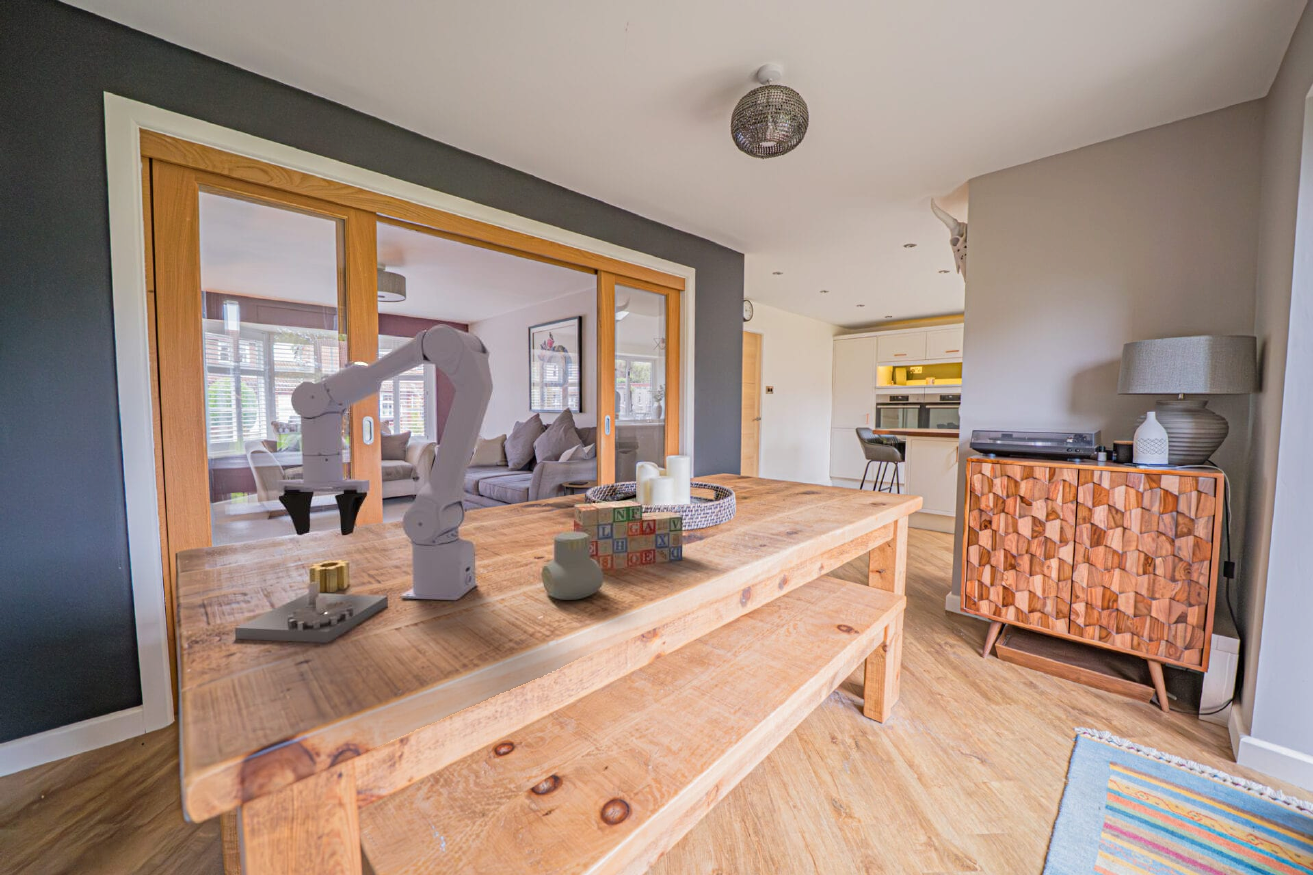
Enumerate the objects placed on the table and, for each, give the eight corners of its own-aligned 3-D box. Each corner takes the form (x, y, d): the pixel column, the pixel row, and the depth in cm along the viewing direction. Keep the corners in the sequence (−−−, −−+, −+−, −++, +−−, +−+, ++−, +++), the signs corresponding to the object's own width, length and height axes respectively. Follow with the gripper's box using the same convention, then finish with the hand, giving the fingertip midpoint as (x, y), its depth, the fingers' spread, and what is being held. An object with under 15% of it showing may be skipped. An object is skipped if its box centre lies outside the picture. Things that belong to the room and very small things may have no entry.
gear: (365, 609, 74) (365, 602, 74) (327, 631, 66) (327, 624, 66) (316, 607, 75) (315, 600, 74) (273, 629, 67) (272, 621, 67)
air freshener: (539, 588, 88) (539, 531, 87) (584, 581, 92) (584, 526, 91) (557, 610, 78) (557, 546, 78) (607, 601, 82) (607, 540, 81)
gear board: (387, 605, 79) (387, 576, 79) (327, 642, 66) (326, 609, 66) (309, 602, 80) (308, 574, 80) (235, 638, 67) (234, 605, 67)
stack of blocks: (670, 553, 110) (670, 496, 110) (682, 560, 105) (683, 501, 104) (573, 564, 102) (573, 503, 101) (581, 573, 96) (581, 509, 95)
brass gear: (356, 582, 90) (356, 560, 89) (333, 594, 84) (333, 570, 84) (326, 581, 90) (325, 559, 90) (301, 592, 84) (300, 569, 84)
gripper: (378, 452, 90) (380, 528, 90) (297, 452, 90) (300, 528, 91) (354, 456, 83) (356, 538, 83) (266, 456, 83) (269, 538, 84)
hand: (325, 533), depth 87 cm, fingers open, 7 cm apart
